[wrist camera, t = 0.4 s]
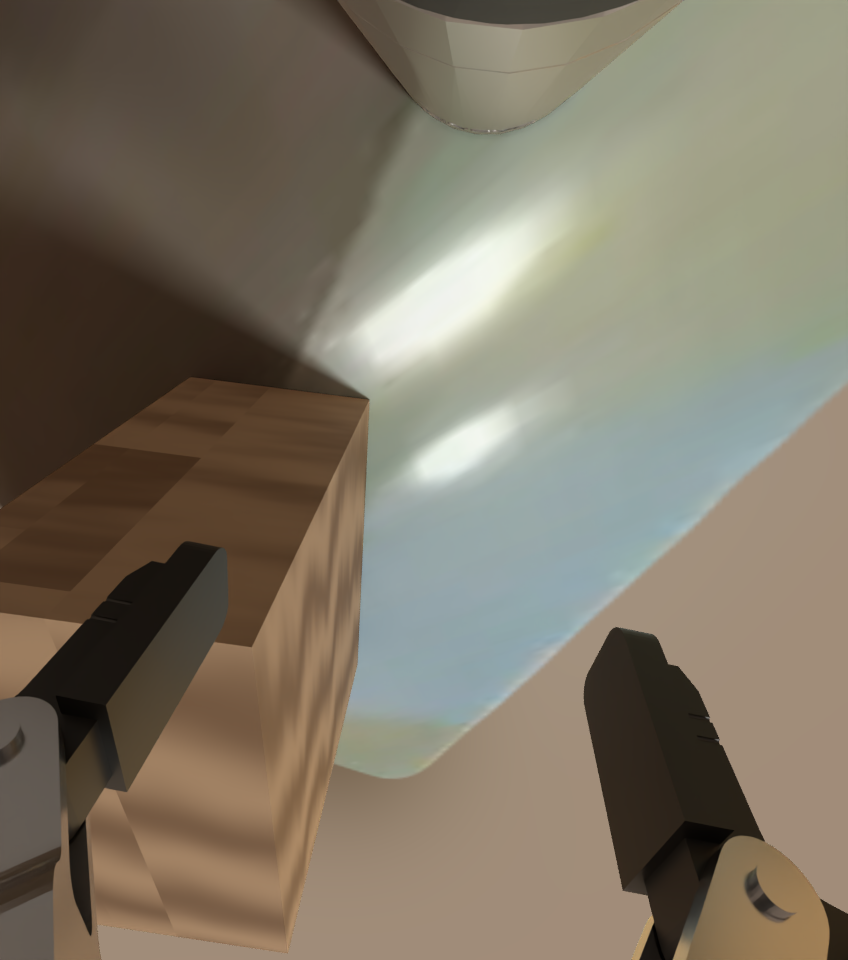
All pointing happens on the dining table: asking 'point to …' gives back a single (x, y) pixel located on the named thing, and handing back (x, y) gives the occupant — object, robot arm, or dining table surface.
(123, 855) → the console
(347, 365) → the dining table surface
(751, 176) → the dining table surface
